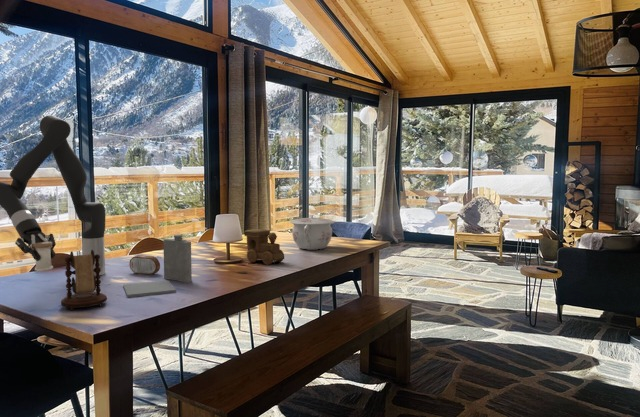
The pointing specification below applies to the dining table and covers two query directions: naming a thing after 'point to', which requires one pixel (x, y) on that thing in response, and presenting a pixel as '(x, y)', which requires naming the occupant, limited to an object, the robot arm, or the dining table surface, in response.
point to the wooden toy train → (263, 246)
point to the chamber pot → (312, 232)
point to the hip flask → (177, 259)
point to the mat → (148, 288)
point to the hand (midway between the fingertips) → (46, 258)
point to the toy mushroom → (43, 256)
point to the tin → (144, 264)
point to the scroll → (83, 281)
